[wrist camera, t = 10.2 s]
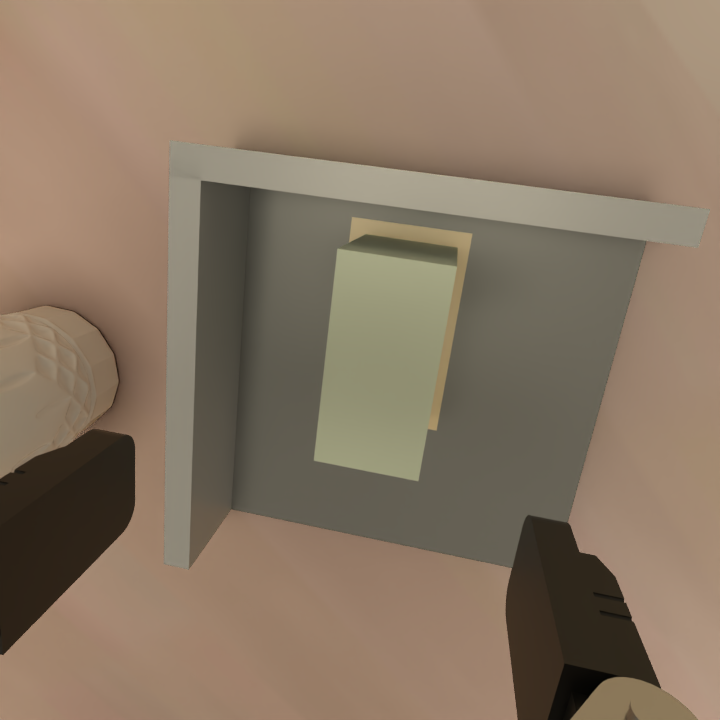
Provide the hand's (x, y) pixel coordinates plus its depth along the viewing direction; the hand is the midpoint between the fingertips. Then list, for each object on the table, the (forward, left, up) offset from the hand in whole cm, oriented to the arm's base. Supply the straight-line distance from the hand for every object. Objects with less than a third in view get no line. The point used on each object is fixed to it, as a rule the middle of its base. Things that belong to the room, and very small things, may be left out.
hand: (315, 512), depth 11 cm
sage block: (0, 0, -15) cm, 15 cm away
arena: (-2, -1, -16) cm, 16 cm away
